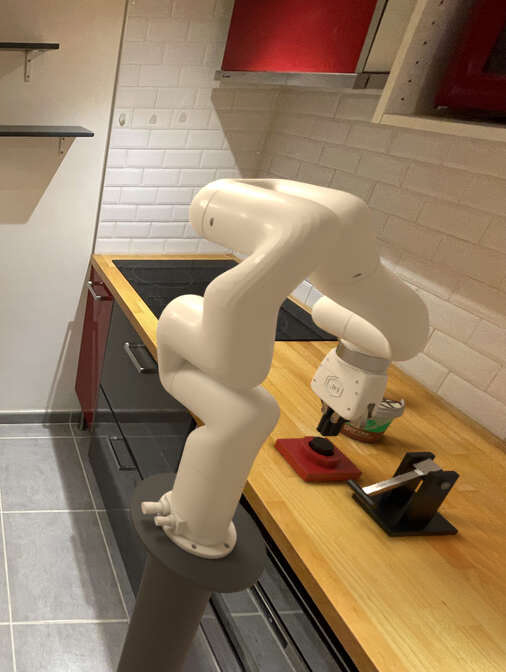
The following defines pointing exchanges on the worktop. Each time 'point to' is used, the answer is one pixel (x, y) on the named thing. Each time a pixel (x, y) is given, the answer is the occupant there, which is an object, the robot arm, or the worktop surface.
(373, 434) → the food container
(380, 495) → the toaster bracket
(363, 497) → the lever
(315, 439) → the stop button
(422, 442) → the worktop surface
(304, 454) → the block
